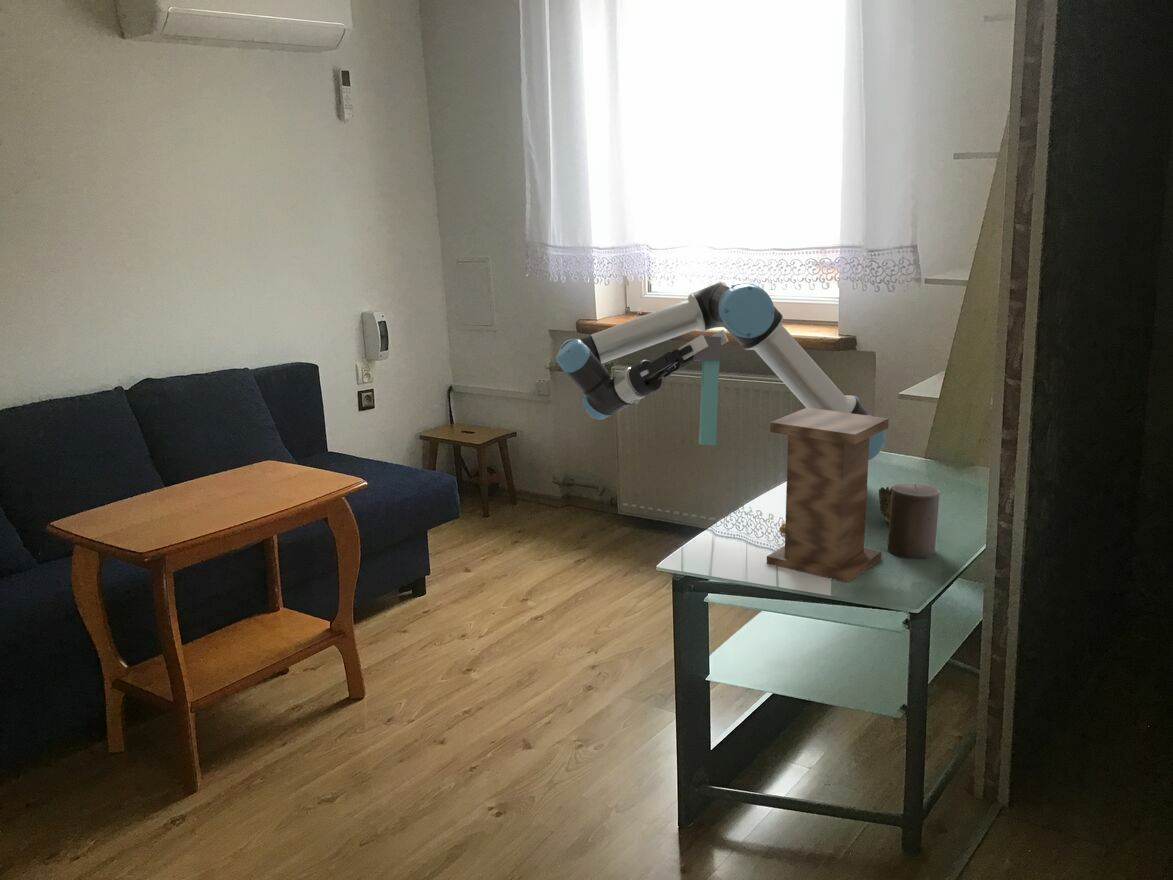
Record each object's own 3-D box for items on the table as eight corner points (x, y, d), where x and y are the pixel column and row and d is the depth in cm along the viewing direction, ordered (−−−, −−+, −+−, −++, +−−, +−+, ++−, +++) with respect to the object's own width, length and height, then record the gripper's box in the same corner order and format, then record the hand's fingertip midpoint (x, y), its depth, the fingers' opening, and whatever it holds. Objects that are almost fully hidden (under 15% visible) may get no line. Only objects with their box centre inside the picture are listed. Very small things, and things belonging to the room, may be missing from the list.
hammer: (716, 445, 223) (693, 444, 223) (712, 444, 228) (689, 443, 228) (721, 336, 222) (697, 335, 222) (717, 338, 227) (694, 337, 227)
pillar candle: (890, 558, 219) (895, 489, 215) (884, 541, 228) (889, 475, 224) (939, 560, 217) (945, 491, 214) (930, 543, 227) (936, 477, 223)
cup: (912, 530, 235) (914, 496, 233) (878, 528, 236) (880, 494, 234) (909, 519, 242) (911, 486, 240) (876, 518, 243) (877, 485, 241)
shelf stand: (766, 563, 217) (770, 422, 210) (802, 541, 229) (806, 407, 222) (848, 582, 206) (855, 434, 199) (881, 558, 218) (888, 418, 211)
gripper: (671, 388, 245) (746, 347, 230) (619, 404, 229) (696, 361, 215) (657, 359, 245) (732, 316, 231) (605, 373, 230) (681, 328, 215)
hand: (715, 338), depth 223 cm, fingers closed on hammer, 8 cm apart
